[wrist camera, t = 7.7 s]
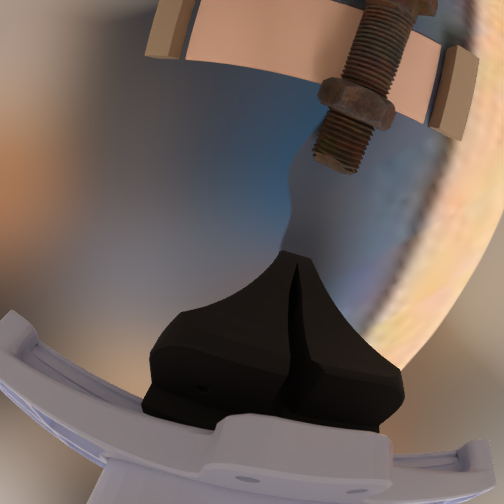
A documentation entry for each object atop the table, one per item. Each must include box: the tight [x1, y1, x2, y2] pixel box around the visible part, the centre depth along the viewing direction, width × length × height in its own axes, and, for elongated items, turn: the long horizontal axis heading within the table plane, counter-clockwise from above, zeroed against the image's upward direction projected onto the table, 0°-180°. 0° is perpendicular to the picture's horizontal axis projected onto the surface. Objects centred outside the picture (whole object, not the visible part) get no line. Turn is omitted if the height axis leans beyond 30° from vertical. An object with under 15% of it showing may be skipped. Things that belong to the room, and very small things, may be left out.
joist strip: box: [145, 0, 479, 141], centre depth 14 cm, size 7×23×2 cm, turn 78°
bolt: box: [312, 0, 438, 175], centre depth 13 cm, size 6×5×15 cm
